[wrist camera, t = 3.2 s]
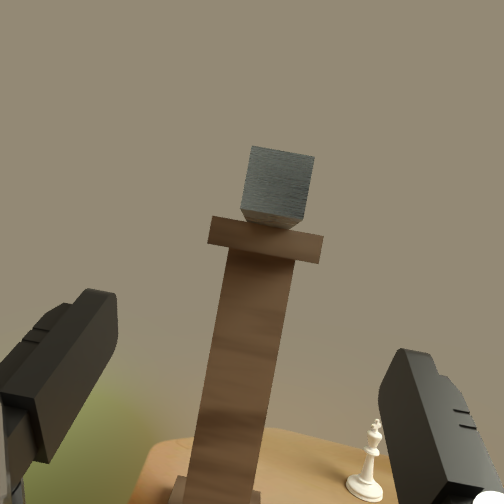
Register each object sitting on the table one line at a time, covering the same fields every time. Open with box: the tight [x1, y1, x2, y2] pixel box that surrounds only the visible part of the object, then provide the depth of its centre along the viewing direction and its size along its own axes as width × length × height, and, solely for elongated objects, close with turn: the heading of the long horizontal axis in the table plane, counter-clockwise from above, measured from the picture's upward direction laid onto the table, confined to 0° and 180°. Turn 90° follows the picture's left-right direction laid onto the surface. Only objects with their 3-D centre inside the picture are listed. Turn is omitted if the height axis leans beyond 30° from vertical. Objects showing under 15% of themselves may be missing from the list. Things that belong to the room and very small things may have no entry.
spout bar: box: [240, 146, 315, 230], centre depth 29 cm, size 22×3×3 cm, turn 179°
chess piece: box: [346, 419, 383, 502], centre depth 53 cm, size 5×5×10 cm
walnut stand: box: [168, 216, 324, 504], centre depth 37 cm, size 20×10×32 cm, turn 179°
